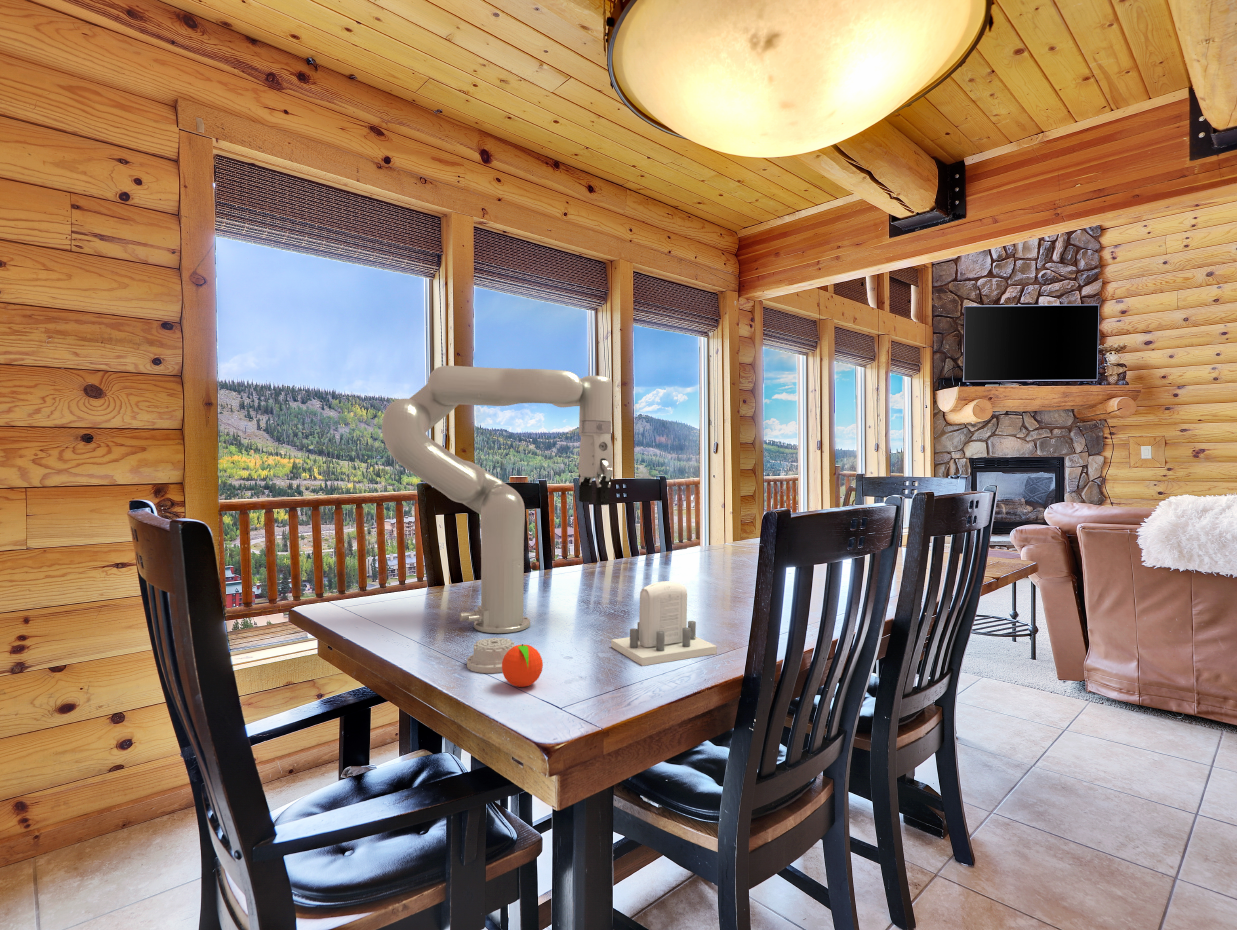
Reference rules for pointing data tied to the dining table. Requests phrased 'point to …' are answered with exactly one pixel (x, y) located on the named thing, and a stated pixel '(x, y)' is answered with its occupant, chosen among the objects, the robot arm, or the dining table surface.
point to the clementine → (522, 665)
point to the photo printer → (662, 612)
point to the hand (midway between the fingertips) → (593, 503)
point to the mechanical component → (489, 655)
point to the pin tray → (664, 647)
